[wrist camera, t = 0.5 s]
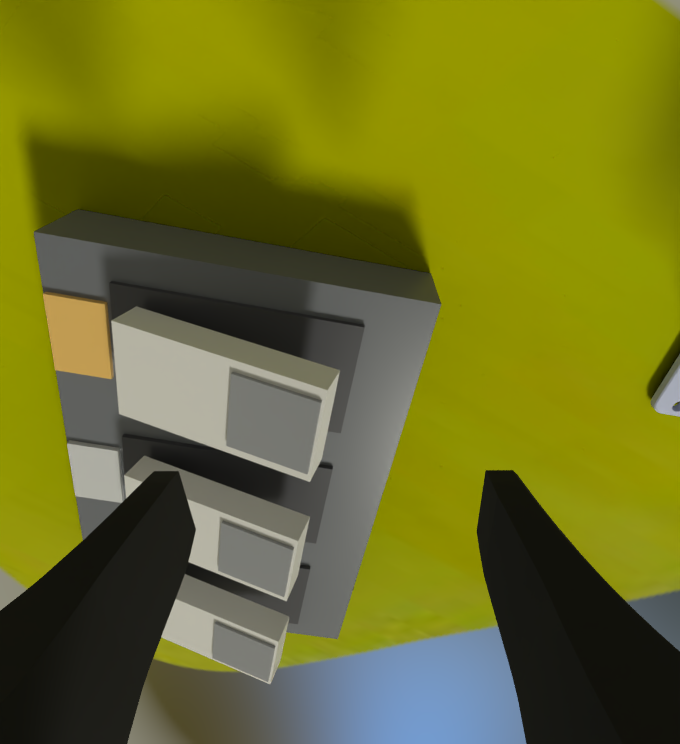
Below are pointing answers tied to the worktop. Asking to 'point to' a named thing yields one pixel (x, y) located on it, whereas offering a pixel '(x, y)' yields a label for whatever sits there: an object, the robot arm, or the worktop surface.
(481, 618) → the worktop surface
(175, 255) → the switch unit
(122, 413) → the block
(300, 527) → the rocker middle
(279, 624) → the block
